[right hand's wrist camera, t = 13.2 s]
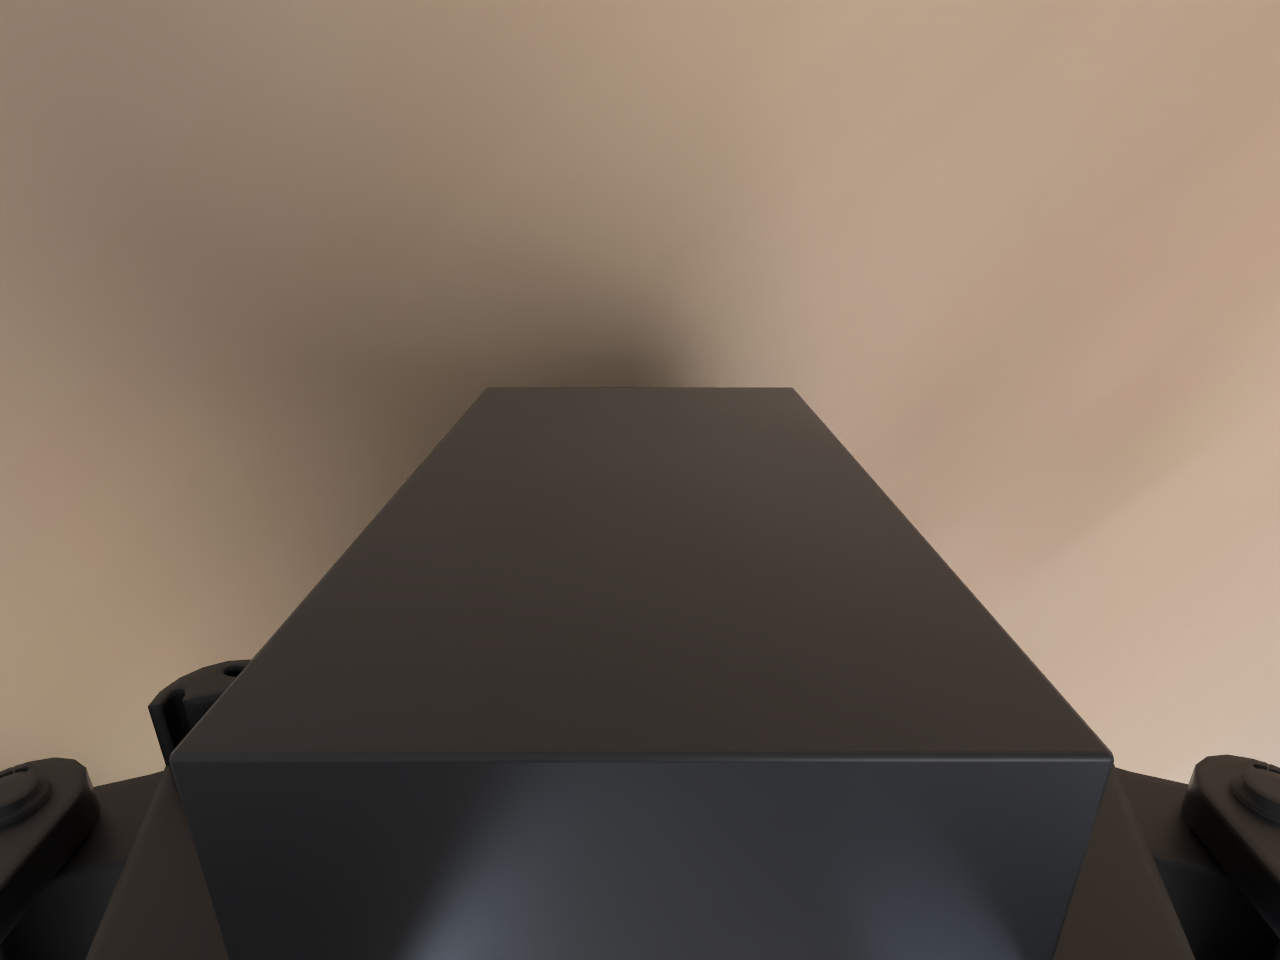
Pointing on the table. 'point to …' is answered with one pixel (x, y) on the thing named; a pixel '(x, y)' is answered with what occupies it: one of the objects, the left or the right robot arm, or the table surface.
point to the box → (641, 714)
